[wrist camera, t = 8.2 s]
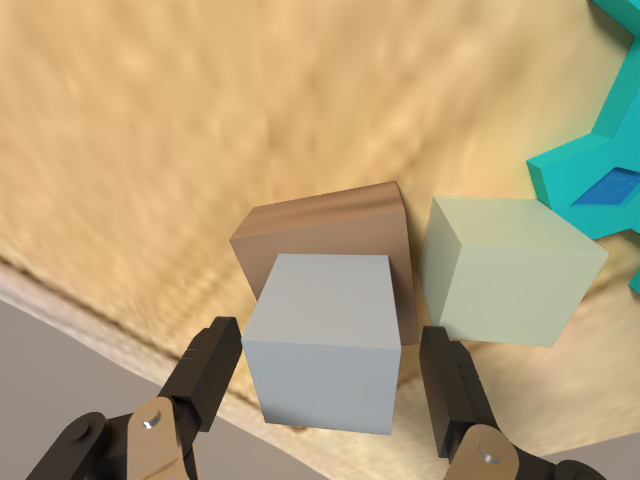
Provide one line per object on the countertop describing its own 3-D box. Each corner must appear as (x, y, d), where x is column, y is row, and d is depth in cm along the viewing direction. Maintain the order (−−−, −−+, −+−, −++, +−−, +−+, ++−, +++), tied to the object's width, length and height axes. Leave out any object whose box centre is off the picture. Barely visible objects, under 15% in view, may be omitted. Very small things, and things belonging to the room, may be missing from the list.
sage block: (536, 198, 14) (432, 195, 15) (610, 253, 10) (462, 245, 11) (503, 277, 17) (417, 271, 17) (552, 347, 13) (435, 337, 13)
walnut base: (255, 205, 17) (228, 239, 13) (394, 178, 15) (405, 211, 12) (293, 305, 21) (280, 352, 17) (408, 293, 19) (419, 344, 15)
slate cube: (278, 253, 13) (240, 339, 9) (387, 255, 13) (401, 349, 8) (290, 328, 16) (265, 422, 12) (382, 333, 15) (390, 435, 11)
